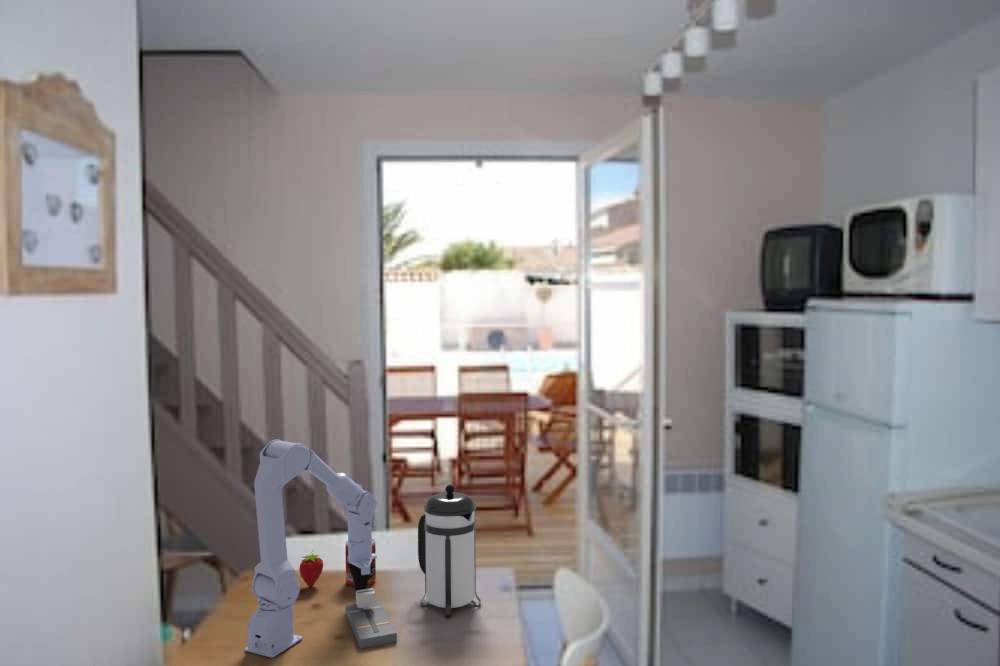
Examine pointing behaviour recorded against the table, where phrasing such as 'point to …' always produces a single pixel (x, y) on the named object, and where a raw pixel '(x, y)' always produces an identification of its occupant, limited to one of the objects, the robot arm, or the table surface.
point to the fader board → (371, 625)
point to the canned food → (373, 563)
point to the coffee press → (448, 550)
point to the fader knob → (365, 598)
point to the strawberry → (311, 569)
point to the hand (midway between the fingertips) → (360, 593)
